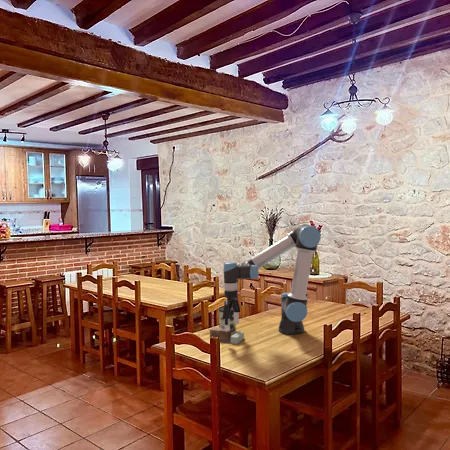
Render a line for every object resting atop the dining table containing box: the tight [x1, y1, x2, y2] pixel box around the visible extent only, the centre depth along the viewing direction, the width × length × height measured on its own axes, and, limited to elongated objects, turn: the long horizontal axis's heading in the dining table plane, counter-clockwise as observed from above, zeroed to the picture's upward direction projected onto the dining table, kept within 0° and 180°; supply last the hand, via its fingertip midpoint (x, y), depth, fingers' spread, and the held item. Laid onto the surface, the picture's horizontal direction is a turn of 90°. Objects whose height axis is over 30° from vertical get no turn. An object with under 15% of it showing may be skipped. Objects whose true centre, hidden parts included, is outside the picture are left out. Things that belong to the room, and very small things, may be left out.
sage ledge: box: [230, 331, 245, 345], centre depth 244 cm, size 4×10×4 cm, turn 157°
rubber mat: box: [220, 338, 231, 344], centre depth 247 cm, size 11×10×1 cm
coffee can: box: [218, 306, 237, 335], centre depth 261 cm, size 10×10×14 cm
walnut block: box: [209, 326, 232, 340], centre depth 248 cm, size 5×5×11 cm
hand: (232, 326), depth 245 cm, fingers open, 13 cm apart
